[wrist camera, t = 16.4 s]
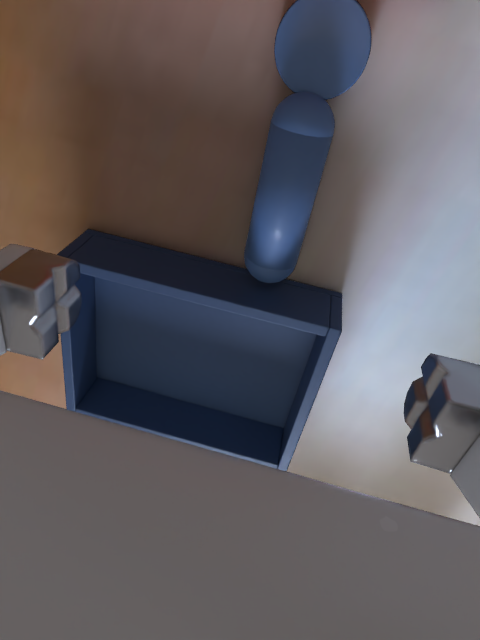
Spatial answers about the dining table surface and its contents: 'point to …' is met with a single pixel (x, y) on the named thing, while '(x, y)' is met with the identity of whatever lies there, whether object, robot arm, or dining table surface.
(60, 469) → the robot arm
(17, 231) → the dining table surface
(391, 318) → the dining table surface
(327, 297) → the blue bin
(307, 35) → the blue spoon
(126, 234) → the dining table surface
